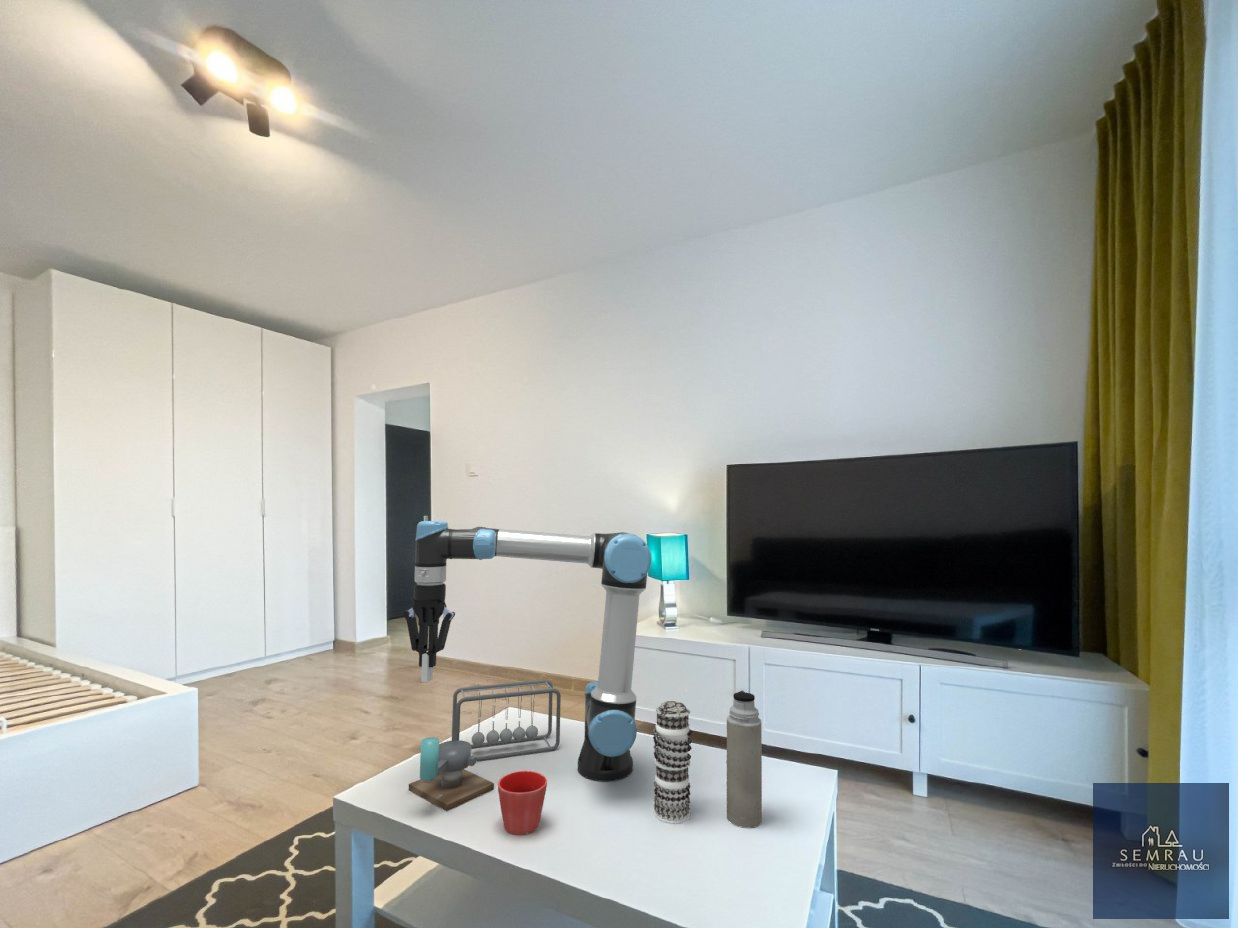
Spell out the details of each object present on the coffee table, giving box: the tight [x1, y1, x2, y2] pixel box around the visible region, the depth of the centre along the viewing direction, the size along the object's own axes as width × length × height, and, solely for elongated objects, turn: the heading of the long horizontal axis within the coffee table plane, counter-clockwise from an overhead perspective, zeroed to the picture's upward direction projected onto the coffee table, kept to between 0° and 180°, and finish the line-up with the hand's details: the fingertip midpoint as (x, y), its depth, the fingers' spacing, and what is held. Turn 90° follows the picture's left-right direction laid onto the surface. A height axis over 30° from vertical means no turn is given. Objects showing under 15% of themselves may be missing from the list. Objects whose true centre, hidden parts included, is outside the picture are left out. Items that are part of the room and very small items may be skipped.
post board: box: [408, 768, 495, 812], centre depth 147 cm, size 16×14×6 cm
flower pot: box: [497, 770, 548, 836], centre depth 131 cm, size 11×11×10 cm
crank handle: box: [419, 736, 478, 781], centre depth 143 cm, size 18×12×10 cm, turn 170°
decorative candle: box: [652, 700, 693, 825], centre depth 137 cm, size 9×9×25 cm
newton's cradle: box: [451, 679, 562, 762], centre depth 171 cm, size 30×10×18 cm, turn 111°
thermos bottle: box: [726, 691, 763, 828], centre depth 136 cm, size 8×8×28 cm
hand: (426, 680), depth 143 cm, fingers closed
